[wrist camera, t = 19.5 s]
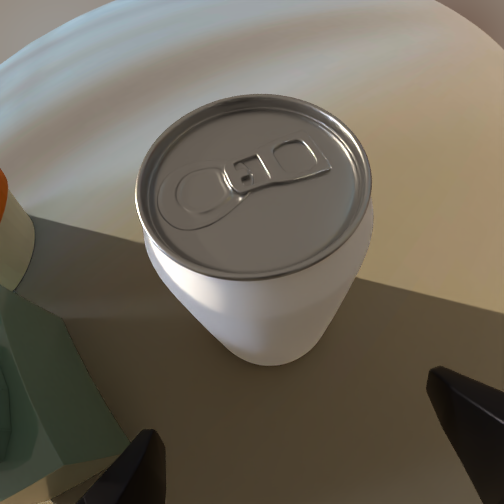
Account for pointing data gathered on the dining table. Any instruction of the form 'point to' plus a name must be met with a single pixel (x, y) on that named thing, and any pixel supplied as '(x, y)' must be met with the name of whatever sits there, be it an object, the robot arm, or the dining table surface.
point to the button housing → (47, 408)
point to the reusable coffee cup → (13, 238)
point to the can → (258, 220)
